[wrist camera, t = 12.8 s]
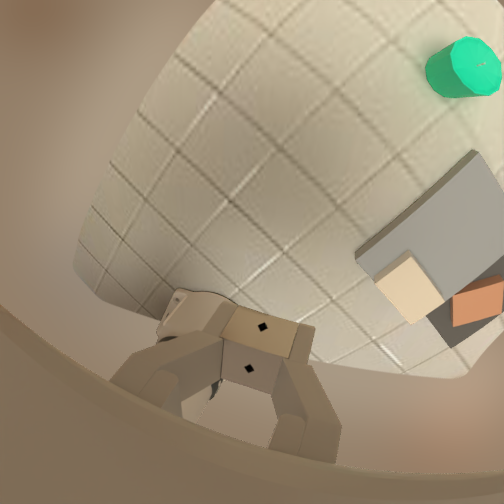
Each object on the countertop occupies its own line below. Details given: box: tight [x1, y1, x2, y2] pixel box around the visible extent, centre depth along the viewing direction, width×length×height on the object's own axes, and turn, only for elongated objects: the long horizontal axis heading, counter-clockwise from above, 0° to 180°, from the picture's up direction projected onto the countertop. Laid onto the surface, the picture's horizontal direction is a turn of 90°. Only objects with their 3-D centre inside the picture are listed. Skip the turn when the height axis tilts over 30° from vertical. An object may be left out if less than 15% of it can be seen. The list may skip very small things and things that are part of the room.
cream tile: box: [374, 250, 445, 325], centre depth 36 cm, size 9×6×2 cm, turn 50°
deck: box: [355, 150, 504, 301], centre depth 34 cm, size 22×14×2 cm, turn 140°
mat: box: [426, 255, 504, 348], centre depth 35 cm, size 20×11×1 cm, turn 140°
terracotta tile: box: [450, 275, 504, 327], centre depth 35 cm, size 9×6×2 cm, turn 113°
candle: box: [425, 36, 502, 98], centre depth 20 cm, size 6×6×12 cm
